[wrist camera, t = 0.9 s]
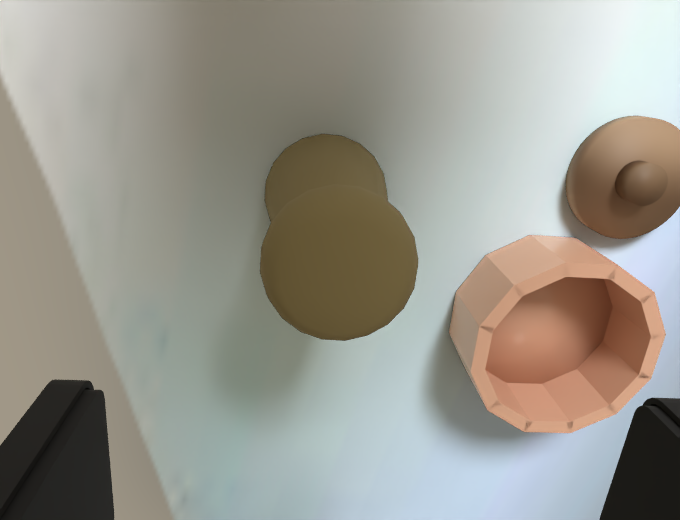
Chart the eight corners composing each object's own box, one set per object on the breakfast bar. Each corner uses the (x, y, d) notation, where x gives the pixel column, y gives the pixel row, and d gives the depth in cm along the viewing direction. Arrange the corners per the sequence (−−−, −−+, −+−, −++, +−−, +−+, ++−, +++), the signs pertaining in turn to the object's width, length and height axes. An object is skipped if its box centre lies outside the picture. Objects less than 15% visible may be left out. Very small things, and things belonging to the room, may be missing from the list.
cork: (402, 151, 26) (469, 212, 16) (368, 264, 28) (408, 385, 18) (279, 119, 25) (265, 161, 15) (253, 239, 27) (224, 350, 17)
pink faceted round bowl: (466, 231, 28) (492, 258, 24) (636, 241, 28) (687, 268, 25) (439, 385, 31) (459, 430, 27) (593, 390, 32) (632, 434, 28)
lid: (577, 112, 26) (602, 117, 24) (691, 118, 27) (725, 123, 25) (553, 229, 28) (574, 243, 26) (659, 233, 29) (687, 246, 27)
